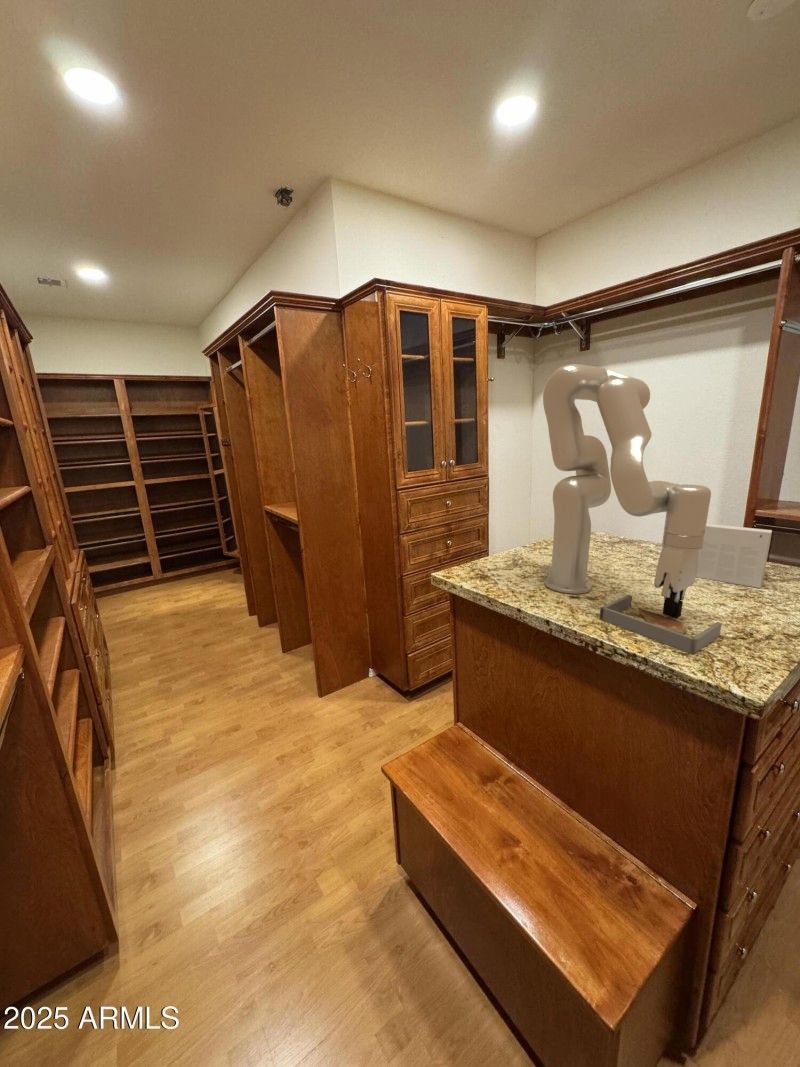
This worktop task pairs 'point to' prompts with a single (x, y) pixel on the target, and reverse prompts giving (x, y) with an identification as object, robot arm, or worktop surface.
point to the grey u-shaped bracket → (656, 628)
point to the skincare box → (734, 554)
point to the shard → (663, 621)
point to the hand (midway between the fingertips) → (671, 615)
